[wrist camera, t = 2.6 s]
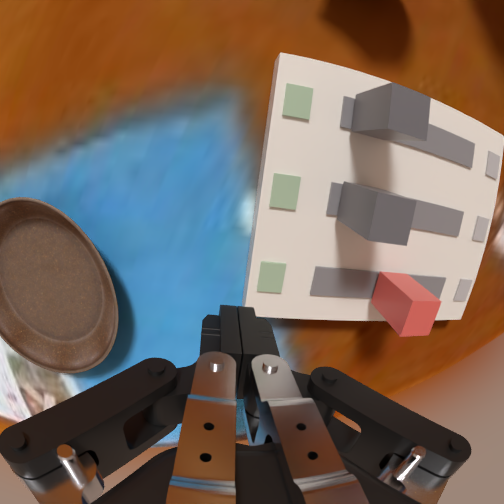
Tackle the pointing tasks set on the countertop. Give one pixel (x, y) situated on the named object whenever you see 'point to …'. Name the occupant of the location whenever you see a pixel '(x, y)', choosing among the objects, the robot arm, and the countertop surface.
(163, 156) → the countertop surface
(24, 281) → the saucer
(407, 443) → the robot arm
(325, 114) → the breaker panel
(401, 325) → the block
